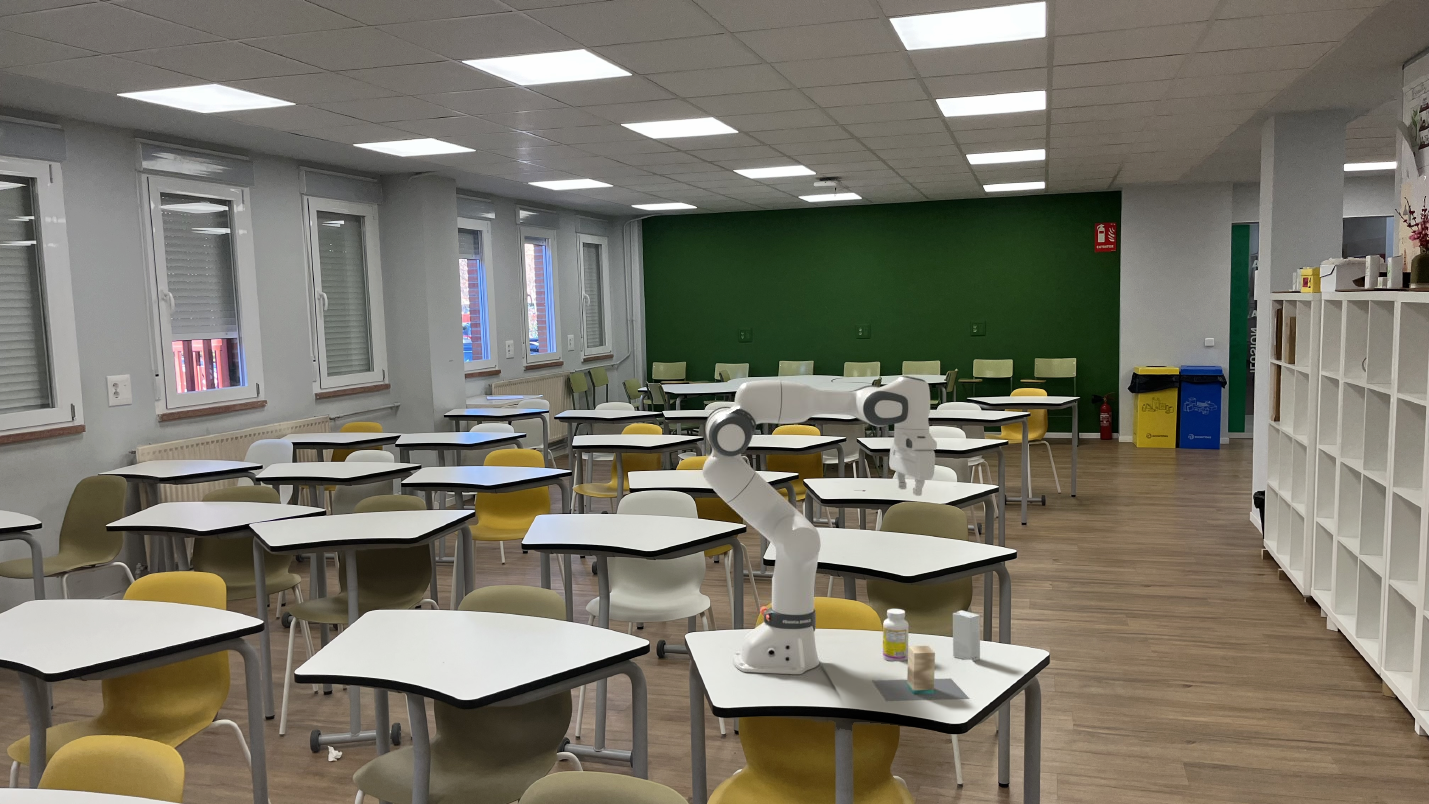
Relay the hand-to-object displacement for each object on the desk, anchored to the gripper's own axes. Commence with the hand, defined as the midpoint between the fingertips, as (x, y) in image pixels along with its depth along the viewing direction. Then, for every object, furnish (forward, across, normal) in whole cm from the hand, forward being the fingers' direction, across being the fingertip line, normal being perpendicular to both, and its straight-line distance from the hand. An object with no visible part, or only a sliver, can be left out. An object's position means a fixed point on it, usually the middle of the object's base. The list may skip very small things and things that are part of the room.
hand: (909, 492), depth 250 cm
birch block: (+44, +21, -5) cm, 49 cm away
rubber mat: (+45, +20, -5) cm, 50 cm away
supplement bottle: (+46, -4, -1) cm, 46 cm away
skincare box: (+45, 0, +18) cm, 49 cm away
